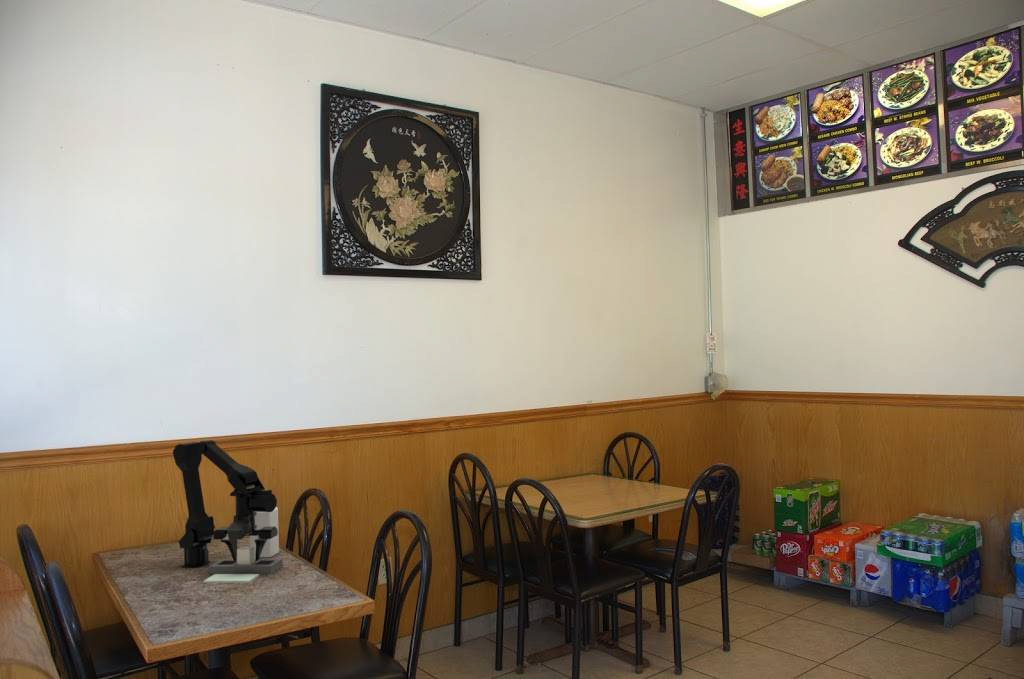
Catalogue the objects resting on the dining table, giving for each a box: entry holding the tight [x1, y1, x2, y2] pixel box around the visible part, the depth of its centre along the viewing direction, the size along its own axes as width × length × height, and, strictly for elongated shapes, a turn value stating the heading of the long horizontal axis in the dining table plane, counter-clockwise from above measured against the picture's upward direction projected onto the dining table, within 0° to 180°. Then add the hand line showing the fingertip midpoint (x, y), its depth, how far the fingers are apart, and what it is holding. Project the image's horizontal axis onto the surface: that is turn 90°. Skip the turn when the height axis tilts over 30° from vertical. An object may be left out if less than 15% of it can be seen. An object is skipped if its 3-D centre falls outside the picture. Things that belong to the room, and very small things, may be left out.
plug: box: [237, 545, 256, 565], centre depth 243 cm, size 4×4×7 cm
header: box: [208, 558, 284, 575], centre depth 242 cm, size 20×9×2 cm, turn 85°
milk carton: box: [249, 506, 280, 558], centre depth 261 cm, size 7×7×19 cm
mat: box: [203, 574, 260, 584], centre depth 232 cm, size 14×7×1 cm, turn 84°
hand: (246, 560), depth 243 cm, fingers open, 7 cm apart
